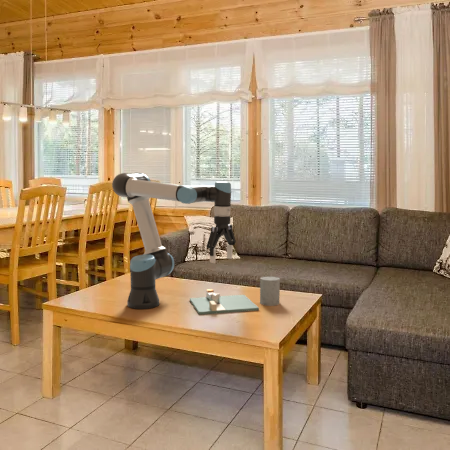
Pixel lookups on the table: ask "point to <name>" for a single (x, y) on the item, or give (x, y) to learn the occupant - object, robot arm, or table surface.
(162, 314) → the table surface
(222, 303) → the board
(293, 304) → the table surface
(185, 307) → the table surface
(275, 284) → the speckled grey cylinder
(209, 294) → the bar
